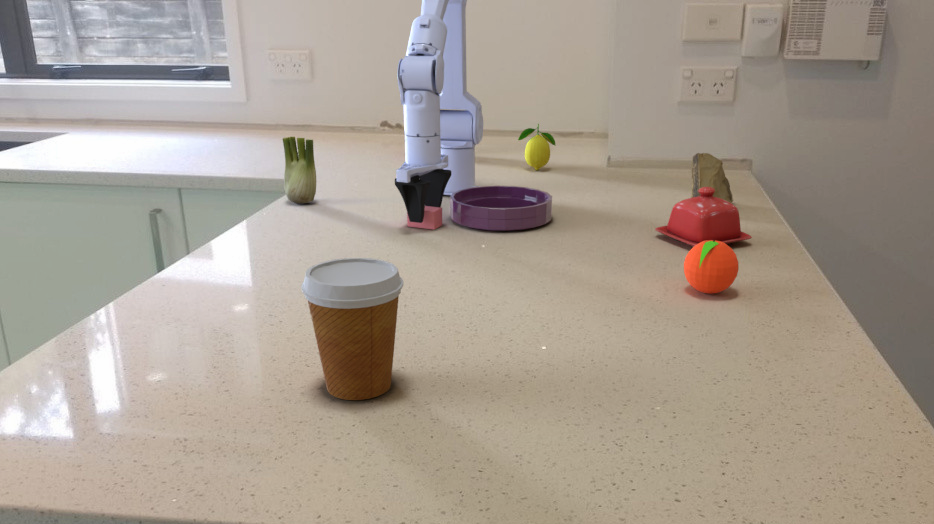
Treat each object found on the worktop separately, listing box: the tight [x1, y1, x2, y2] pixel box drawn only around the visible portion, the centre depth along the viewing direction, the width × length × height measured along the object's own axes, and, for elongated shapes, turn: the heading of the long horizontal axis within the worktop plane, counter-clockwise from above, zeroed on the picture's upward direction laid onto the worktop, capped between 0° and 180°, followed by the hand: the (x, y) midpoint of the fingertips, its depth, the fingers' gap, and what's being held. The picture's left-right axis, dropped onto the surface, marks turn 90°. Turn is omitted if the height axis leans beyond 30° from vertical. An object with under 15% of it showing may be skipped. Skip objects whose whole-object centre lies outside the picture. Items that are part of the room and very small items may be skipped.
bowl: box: [449, 185, 553, 232], centre depth 143 cm, size 17×17×4 cm
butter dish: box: [654, 187, 753, 248], centre depth 131 cm, size 12×12×8 cm
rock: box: [690, 152, 734, 204], centre depth 152 cm, size 11×9×10 cm
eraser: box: [406, 206, 443, 230], centre depth 139 cm, size 5×3×3 cm, turn 68°
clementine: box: [683, 239, 740, 295], centre depth 108 cm, size 8×7×7 cm
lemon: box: [517, 123, 556, 171], centre depth 181 cm, size 7×6×10 cm
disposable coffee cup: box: [300, 257, 404, 401], centre depth 81 cm, size 10×10×12 cm
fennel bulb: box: [282, 136, 317, 205], centre depth 151 cm, size 6×5×12 cm
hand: (424, 217), depth 139 cm, fingers open, 5 cm apart
